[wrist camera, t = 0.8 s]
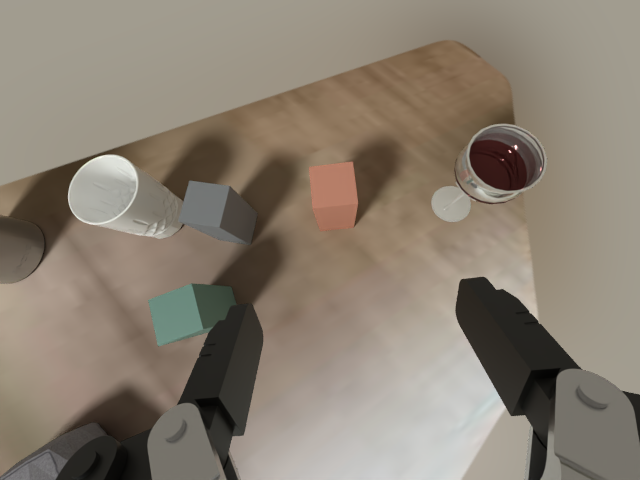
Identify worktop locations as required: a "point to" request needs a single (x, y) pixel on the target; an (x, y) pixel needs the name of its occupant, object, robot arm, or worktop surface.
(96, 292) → the worktop surface
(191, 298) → the green pillar
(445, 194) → the wineglass
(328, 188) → the red pillar
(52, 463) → the grey rounded bag
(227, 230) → the charcoal pillar
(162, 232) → the white cup
